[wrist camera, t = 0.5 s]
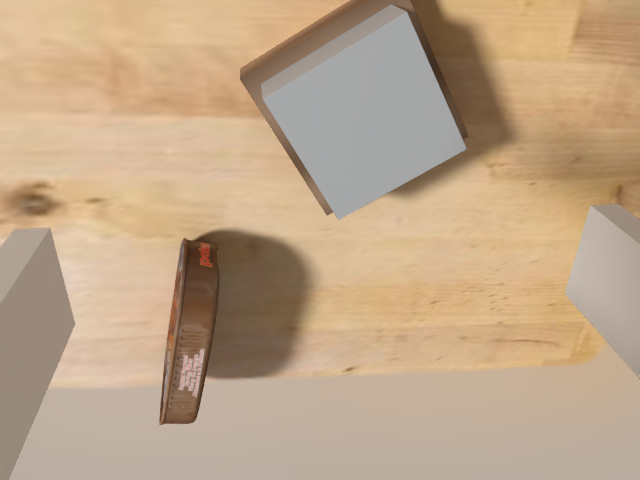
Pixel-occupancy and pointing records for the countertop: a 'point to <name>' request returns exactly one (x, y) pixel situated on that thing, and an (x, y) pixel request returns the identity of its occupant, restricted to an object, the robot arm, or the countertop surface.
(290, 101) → the tower top
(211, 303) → the tin
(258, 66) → the tower base
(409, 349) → the countertop surface
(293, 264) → the countertop surface
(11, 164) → the countertop surface
